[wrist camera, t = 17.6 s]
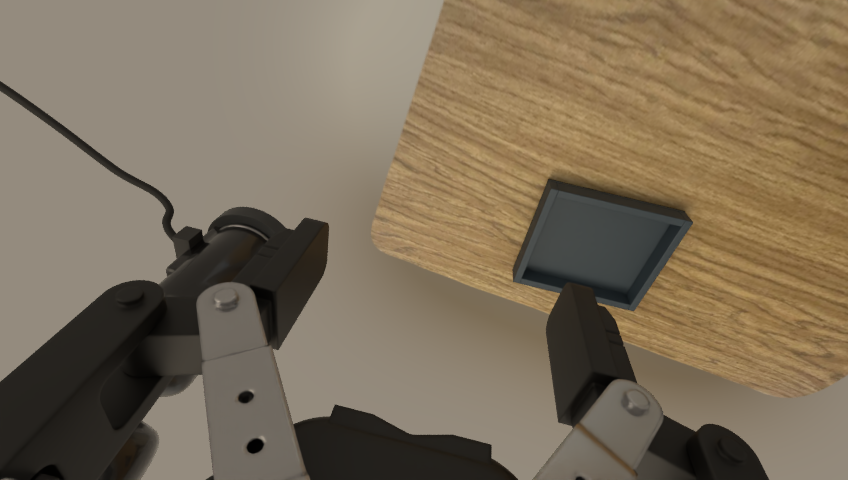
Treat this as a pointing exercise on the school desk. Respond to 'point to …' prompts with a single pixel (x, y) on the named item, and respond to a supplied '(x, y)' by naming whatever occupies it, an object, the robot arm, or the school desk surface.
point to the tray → (598, 243)
